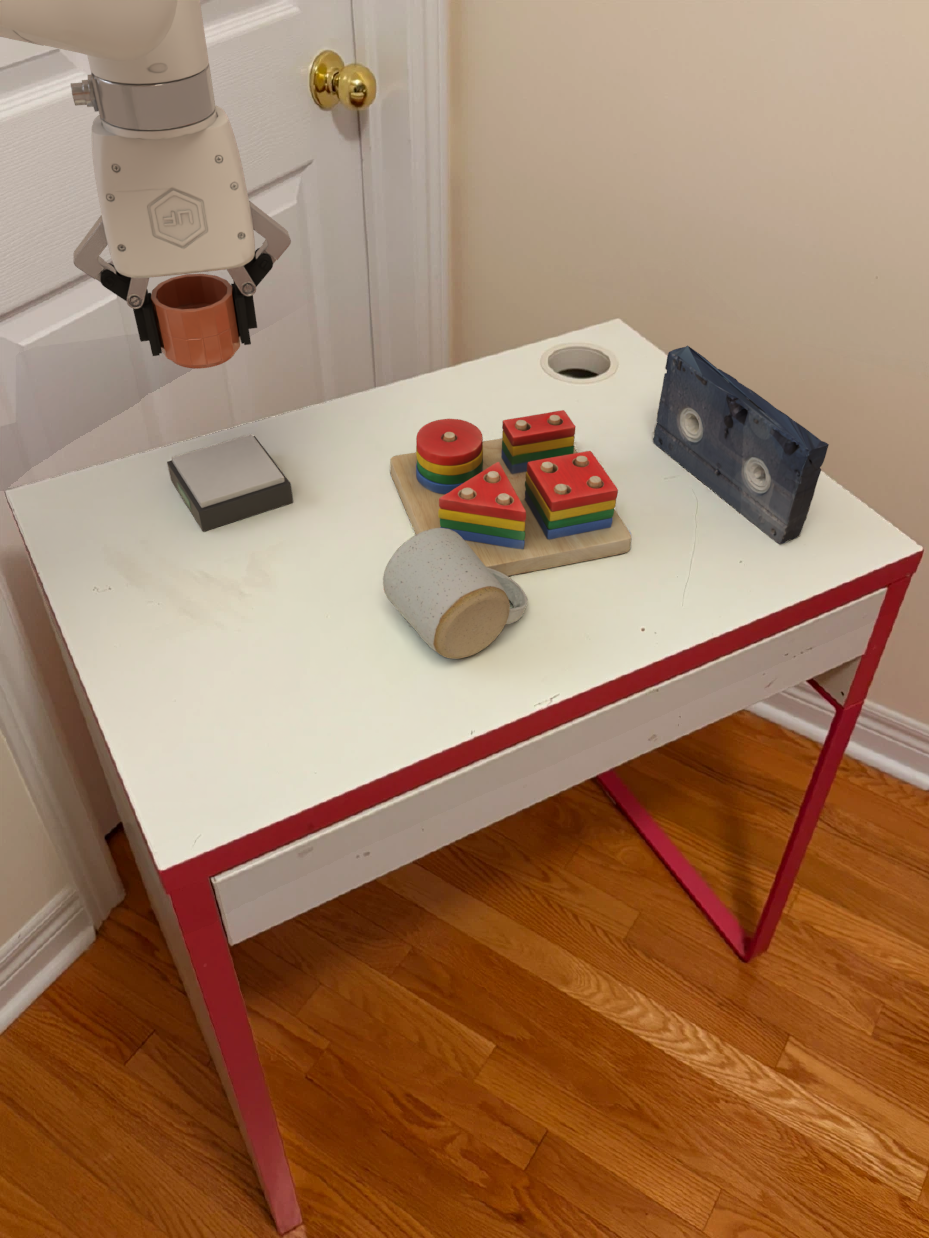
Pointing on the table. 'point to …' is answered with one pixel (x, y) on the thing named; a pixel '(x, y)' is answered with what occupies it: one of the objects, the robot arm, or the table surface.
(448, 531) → the ceramic mug
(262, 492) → the scale
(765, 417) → the vhs cassette tape
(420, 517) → the shape sorter
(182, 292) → the terracotta pot
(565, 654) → the table surface
